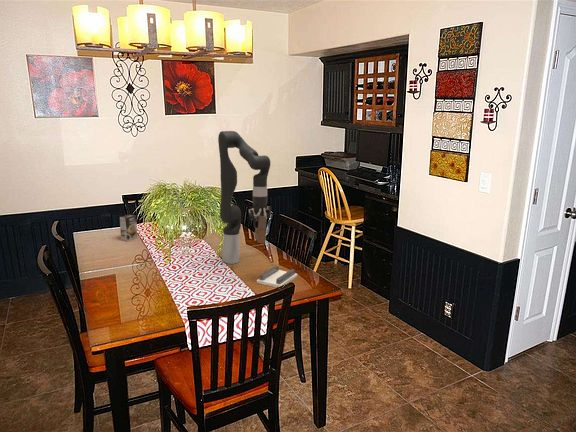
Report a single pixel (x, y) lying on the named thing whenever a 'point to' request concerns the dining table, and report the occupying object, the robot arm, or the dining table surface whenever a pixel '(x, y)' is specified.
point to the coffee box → (128, 227)
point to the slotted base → (276, 277)
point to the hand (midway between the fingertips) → (260, 226)
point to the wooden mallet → (261, 229)
